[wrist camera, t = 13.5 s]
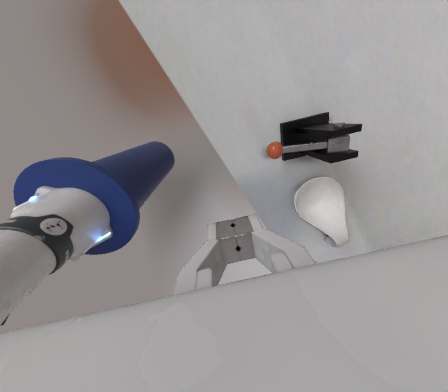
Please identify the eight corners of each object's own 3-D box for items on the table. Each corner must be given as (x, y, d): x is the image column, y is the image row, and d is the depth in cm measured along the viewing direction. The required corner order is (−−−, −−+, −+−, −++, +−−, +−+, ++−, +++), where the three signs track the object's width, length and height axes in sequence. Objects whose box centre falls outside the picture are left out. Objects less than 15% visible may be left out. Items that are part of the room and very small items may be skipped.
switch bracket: (282, 159, 38) (313, 176, 27) (279, 123, 35) (314, 124, 23) (323, 149, 38) (373, 162, 26) (325, 112, 35) (383, 108, 23)
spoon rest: (280, 190, 42) (293, 203, 35) (322, 163, 39) (345, 171, 33) (314, 245, 51) (329, 263, 44) (350, 225, 48) (372, 241, 42)
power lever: (269, 156, 34) (265, 161, 32) (267, 141, 33) (263, 145, 30) (345, 149, 28) (348, 154, 25) (347, 129, 26) (351, 133, 24)
